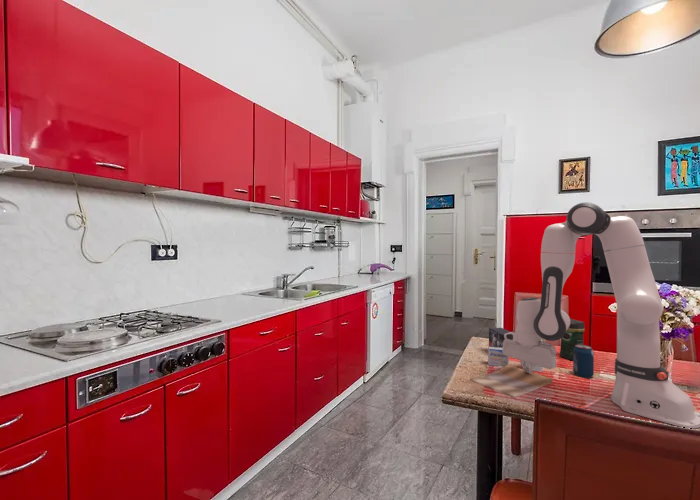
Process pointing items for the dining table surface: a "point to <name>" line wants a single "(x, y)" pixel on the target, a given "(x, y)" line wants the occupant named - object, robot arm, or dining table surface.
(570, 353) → the coffee jar
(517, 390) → the birch plank
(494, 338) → the small box
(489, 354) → the medicine box
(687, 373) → the dining table surface
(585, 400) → the dining table surface
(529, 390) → the grey plank
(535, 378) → the oak plank
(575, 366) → the soda can
